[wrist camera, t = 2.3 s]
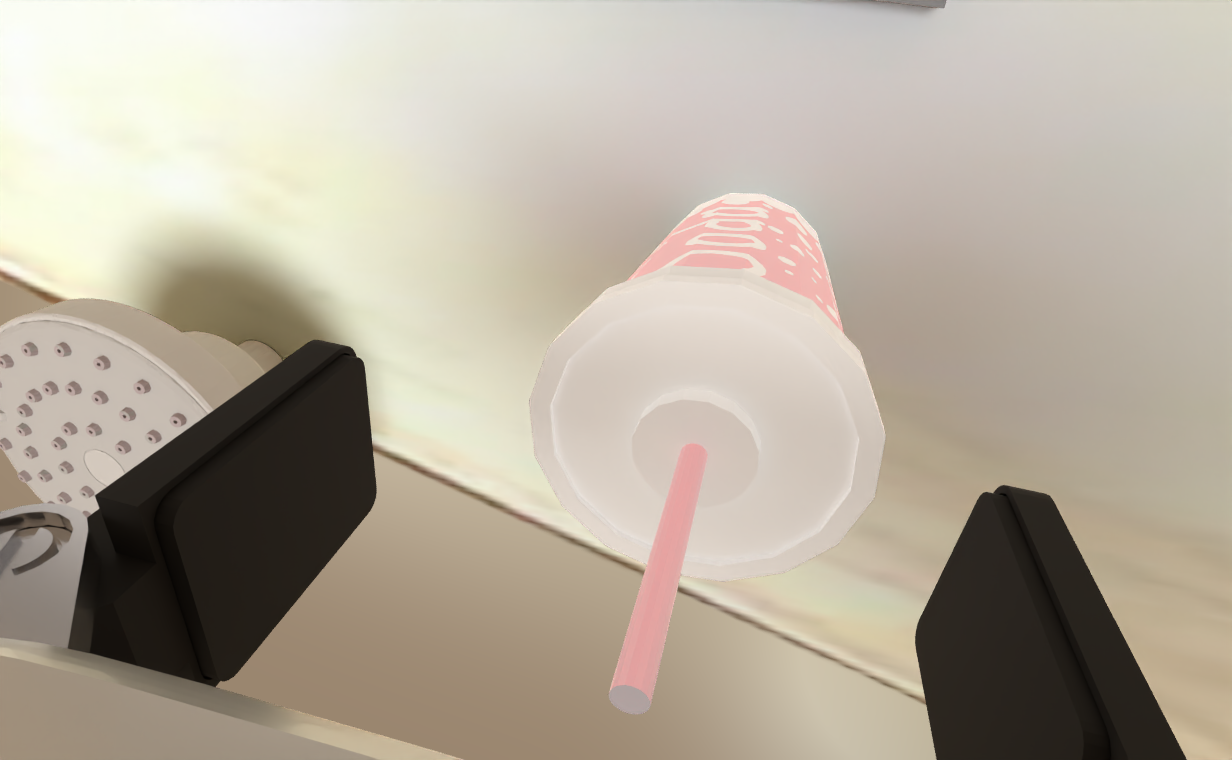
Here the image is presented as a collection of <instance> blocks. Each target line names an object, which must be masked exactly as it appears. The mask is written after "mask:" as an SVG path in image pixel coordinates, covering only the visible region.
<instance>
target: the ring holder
mask: <svg viewBox="0 0 1232 760" xmlns="http://www.w3.org/2000/svg"><path fill="white" fill-rule="evenodd" d="M874 1H882V2H891V3H899V4H907V5H916V6H924V7H932V8H944V7H945V4H946V0H874Z"/></svg>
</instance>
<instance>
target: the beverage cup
mask: <svg viewBox="0 0 1232 760" xmlns="http://www.w3.org/2000/svg"><path fill="white" fill-rule="evenodd" d="M529 405H530V414H531V424H532V433H533V443H534V452H535V457H536V459H537V461H538V463H539V465H540V466H541V468H542V470H543V472H544V474H545V476H546V477H547V479H548V481H549V483H550V485H551V487H552V488H553V490H554V492H555V494H556V496H557V498H558V499H559V501H560V503H561V505H562V506H563V507H564V508H565V509H566V510H567V511H568V512H569V513H570V514H571V515H573V516H574V517H575V518H576V519H577V520H578V521H579V522H580V523H581V524H582V525H584V526H585V527H586V528H587V529H588V530H589V531H590V532H591V533H592V534H593V535H595V536H596V537H597V538H598V539H599V540H600V541H601V542H602V543H603V544H604V545H606V546H607V547H609V548H611V549H614V550H616V551H618V552H620V553H622V554H624V555H626V556H628V557H631V558H633V559H635V560H637V561H639V562H641V563H643V564H645V565H647V566H646V569H645V573H644V576H643V579H642V583H641V586H640V589H639V593H638V596H637V600H636V603H635V607H634V610H633V614H632V616H631V620H630V623H629V627H628V630H627V633H626V637H625V640H624V643H623V647H622V650H621V654H620V657H619V660H618V664H617V667H616V670H615V674H614V677H613V681H612V684H611V688H610V691H609V699H610V701H611V702H612V704H613V705H614V706H615V707H617V708H618V709H619V710H621V711H623V712H625V713H630V714H642V713H644V712H646V711H647V710H648V709H649V708H650V705H651V701H652V696H653V692H654V687H655V683H656V679H657V674H658V670H659V666H660V661H661V657H662V653H663V649H664V644H665V640H666V635H667V631H668V627H669V623H670V618H671V614H672V610H673V605H674V601H675V596H676V593H677V588H678V584H679V580H680V575H683V576H689V577H696V578H702V579H709V580H715V581H721V582H725V581H732V580H739V579H746V578H752V577H759V576H766V575H773V574H780V573H785V572H787V571H789V570H791V569H793V568H794V567H796V566H798V565H800V564H802V563H804V562H806V561H808V560H809V559H811V558H813V557H815V556H817V555H819V554H821V553H823V552H825V551H826V550H828V549H830V548H832V547H834V546H836V545H838V544H839V542H840V541H841V540H842V538H843V537H844V536H845V535H846V533H847V532H848V531H849V530H850V528H851V527H852V526H853V524H854V523H855V522H856V521H857V519H858V518H859V517H860V516H861V514H862V513H863V512H864V510H865V509H866V508H867V507H868V505H869V504H870V503H871V502H872V500H873V499H874V498H875V493H876V487H877V482H878V477H879V471H880V466H881V460H882V455H883V450H884V444H885V439H886V436H885V430H884V426H883V423H882V420H881V417H880V412H879V409H878V406H877V402H876V399H875V396H874V393H873V390H872V387H871V383H870V380H869V377H868V374H867V371H866V368H865V365H864V361H863V358H862V355H861V352H860V351H859V350H858V349H857V347H856V346H855V345H854V344H853V343H852V342H851V341H850V340H849V339H848V338H847V337H846V336H845V335H844V331H843V327H842V323H841V319H840V315H839V311H838V307H837V303H836V300H835V296H834V292H833V288H832V284H831V280H830V276H829V272H828V268H827V264H826V261H825V258H824V254H823V251H822V248H821V245H820V242H819V239H818V236H817V233H816V231H815V230H814V229H813V228H812V227H811V226H810V225H809V224H808V222H807V221H806V220H805V219H804V218H803V217H802V216H801V215H800V214H799V213H798V211H797V210H796V209H795V208H794V207H791V206H789V205H787V204H785V203H782V202H780V201H778V200H776V199H774V198H771V197H769V196H767V195H765V194H746V193H728V194H726V195H723V196H721V197H718V198H715V199H713V200H710V201H707V202H705V203H702V204H700V205H698V206H697V207H696V208H695V209H694V210H693V211H692V212H691V213H690V214H688V215H687V216H686V217H685V218H684V219H683V220H682V221H681V222H680V223H679V224H678V225H677V226H676V227H675V228H674V229H673V230H672V231H671V232H670V233H669V234H668V236H667V237H666V238H665V239H664V240H663V241H662V242H661V243H660V244H659V245H658V247H657V248H656V249H655V250H654V251H653V252H652V253H651V254H650V255H649V256H648V258H647V259H646V260H645V261H644V262H643V263H642V264H641V265H640V266H639V267H638V269H637V270H636V271H635V272H634V273H633V274H632V275H631V276H630V277H629V278H628V280H627V281H626V282H623V283H620V284H617V285H614V286H611V287H608V288H607V289H606V290H605V291H604V292H603V293H602V294H601V295H600V296H599V297H598V298H596V299H595V300H594V301H593V302H592V303H591V304H590V305H589V306H588V307H587V308H586V309H585V310H584V311H583V312H582V313H581V314H580V315H579V316H578V317H576V318H575V319H574V320H573V321H572V322H571V323H570V324H569V325H568V326H567V327H566V328H565V329H564V331H563V332H562V333H561V334H560V335H559V336H558V337H556V338H555V339H554V340H553V342H552V343H551V344H550V346H549V347H548V350H547V352H546V355H545V358H544V361H543V364H542V366H541V369H540V372H539V375H538V377H537V380H536V383H535V386H534V388H533V391H532V394H531V397H530V400H529Z"/></svg>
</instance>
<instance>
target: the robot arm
mask: <svg viewBox="0 0 1232 760" xmlns="http://www.w3.org/2000/svg"><path fill="white" fill-rule="evenodd" d="M95 498H96V501H97V503H98V506H99V509H98V510H97V511H95V512H94V513H93V514H91V515H90V516H89V517H87V518H86V517H85V516H84V515H83V514H82V512H81V511H80V510H78V509H76V508H73V507H70V506H67V505H64V504H51V503H43V504H34V505H25V506H21V507H17V508H13V509H9V510H5V511H1V512H0V760H464V759H460V758H457V757H453V756H450V755H446V754H443V753H440V752H436V751H433V750H429V749H426V748H423V747H419V746H416V745H413V744H409V743H406V742H403V741H399V740H395V739H392V738H388V737H386V736H382V735H379V734H375V733H372V732H368V731H365V730H361V729H358V728H354V727H351V726H348V725H344V724H341V723H337V722H334V721H330V720H327V719H323V718H320V717H316V716H313V715H310V714H306V713H303V712H299V711H296V710H292V709H289V708H285V707H282V706H278V705H275V704H271V703H268V702H265V701H261V700H258V699H254V698H251V697H247V696H243V695H241V694H237V693H234V692H230V691H227V690H223V689H220V688H216V686H217V684H218V683H219V682H220V681H227V680H229V679H231V678H232V677H234V676H235V675H236V674H237V673H238V671H239V670H240V669H241V668H242V667H243V665H244V664H245V663H246V662H247V661H248V659H249V658H250V657H251V656H252V654H253V653H254V652H255V651H256V650H257V648H258V647H259V646H260V645H261V644H262V642H263V641H264V640H265V638H266V637H267V636H268V635H269V634H270V633H271V631H272V630H273V629H274V627H276V625H277V624H278V623H279V622H280V620H281V619H282V618H283V617H284V616H285V614H286V613H287V612H288V611H289V609H290V608H291V607H292V606H293V605H294V603H295V602H296V601H297V600H298V598H299V597H300V596H301V595H302V594H303V592H304V591H305V590H306V588H307V587H308V586H309V585H310V584H311V583H312V581H313V580H314V579H315V578H316V577H317V575H318V574H319V573H320V572H321V570H322V569H323V568H324V567H325V566H326V564H327V563H328V562H329V561H330V560H331V558H332V557H333V556H334V554H335V553H336V552H337V551H338V550H339V548H340V547H341V546H342V545H343V544H344V542H345V541H346V540H347V539H348V538H349V536H350V535H351V534H352V533H353V531H354V530H355V529H356V528H357V526H358V525H359V524H360V523H361V522H362V520H363V519H364V518H365V517H366V516H367V514H368V513H369V512H370V510H371V508H372V506H373V504H374V501H375V498H376V478H375V468H374V457H373V447H372V437H371V426H370V416H369V405H368V395H367V385H366V374H365V366H364V363H363V361H362V360H361V359H360V358H357V357H356V354H355V352H354V350H353V349H352V348H351V347H349V346H344V345H340V344H335V343H330V342H325V341H321V340H312V341H310V342H308V343H307V344H306V345H304V346H303V347H301V348H300V349H299V350H297V351H296V352H294V353H293V354H292V355H290V356H289V357H287V358H286V359H285V360H283V361H282V362H280V363H279V364H278V365H276V366H275V367H273V368H272V369H271V370H269V371H268V372H266V373H265V374H264V375H262V376H261V377H259V378H258V379H257V380H255V381H254V382H252V383H251V384H250V385H248V386H247V387H245V388H244V389H243V390H241V391H240V392H238V393H237V394H236V395H234V396H233V397H232V398H230V399H229V400H227V401H226V402H225V403H223V404H222V405H220V406H219V407H218V408H216V409H215V410H213V411H212V412H211V413H209V414H208V415H206V416H205V417H204V418H202V419H201V420H199V421H198V422H197V423H195V424H194V425H192V426H191V427H190V428H188V429H187V430H185V431H184V432H183V433H181V434H180V435H178V436H177V437H176V438H174V439H173V440H171V441H170V442H169V443H167V444H166V445H164V446H163V447H162V448H160V449H159V450H157V451H156V452H155V453H153V454H152V455H150V456H149V457H148V458H146V459H145V460H144V461H142V462H141V463H139V464H138V465H137V466H135V467H134V468H132V469H131V470H130V471H128V472H127V473H125V474H124V475H123V476H121V477H120V478H118V479H117V480H116V481H114V482H113V483H111V484H110V485H109V486H107V487H106V488H104V489H103V490H102V491H100V492H99V493H97V494H96V495H95ZM915 645H916V652H917V657H918V662H919V668H920V673H921V678H922V684H923V689H924V694H925V700H926V705H927V711H928V716H929V721H930V727H931V731H932V737H933V743H934V748H935V753H936V759H937V760H1187V759H1186V757H1185V755H1184V753H1183V751H1182V750H1181V748H1180V746H1179V744H1178V742H1177V740H1176V738H1175V736H1174V734H1173V732H1172V730H1171V728H1170V726H1169V724H1168V722H1167V720H1166V718H1165V716H1164V715H1163V713H1162V711H1161V709H1160V707H1159V705H1158V703H1157V701H1156V699H1155V697H1154V695H1153V693H1152V691H1151V689H1150V687H1149V685H1148V683H1147V681H1146V679H1145V678H1144V676H1143V674H1142V672H1141V670H1140V668H1139V666H1138V664H1137V662H1136V660H1135V658H1134V656H1133V654H1132V652H1131V650H1130V648H1129V646H1128V644H1127V643H1126V641H1125V639H1124V637H1123V635H1122V633H1121V631H1120V629H1119V627H1118V625H1117V623H1116V621H1115V619H1114V618H1113V616H1112V614H1111V612H1110V610H1109V608H1108V606H1107V604H1106V602H1105V600H1104V598H1103V596H1102V594H1101V592H1100V590H1099V588H1098V587H1097V585H1096V583H1095V581H1094V579H1093V577H1092V575H1091V573H1090V571H1089V569H1088V567H1087V565H1086V563H1085V561H1084V559H1083V557H1082V555H1081V553H1080V551H1079V550H1078V548H1077V546H1076V544H1075V542H1074V540H1073V538H1072V536H1071V534H1070V532H1069V530H1068V528H1067V526H1066V524H1065V522H1064V520H1063V518H1062V516H1061V514H1060V513H1059V511H1058V509H1057V507H1056V505H1055V503H1054V501H1053V499H1052V498H1051V497H1050V496H1049V495H1047V494H1044V493H1039V492H1035V491H1030V490H1025V489H1020V488H1016V487H1011V486H1006V485H1003V486H1000V487H998V488H997V489H996V490H995V492H994V493H989V492H984V493H983V494H982V495H980V497H979V499H978V500H977V502H976V504H975V506H974V508H973V510H972V513H971V515H970V517H969V519H968V521H967V523H966V525H965V527H964V529H963V531H962V533H961V535H960V537H959V539H958V541H957V543H956V545H955V547H954V549H953V552H952V554H951V556H950V558H949V560H948V562H947V564H946V566H945V568H944V570H943V572H942V574H941V576H940V578H939V580H938V582H937V584H936V586H935V589H934V591H933V593H932V595H931V597H930V599H929V601H928V603H927V605H926V607H925V609H924V611H923V613H922V615H921V617H920V619H919V622H918V625H917V629H916V636H915Z"/></svg>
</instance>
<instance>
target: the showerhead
mask: <svg viewBox="0 0 1232 760" xmlns="http://www.w3.org/2000/svg"><path fill="white" fill-rule="evenodd" d="M280 362H282V359H281V358H280V356H279V355H278V354H277V353H276V352H275V351H274V350H273V349H272V348H270V347H269V346H267V345H266V344H264V343H261V342H258V341H252V340H251V341H245V342H243V343H241V344H240V345H238V346H237V345H235V344H234V343H232V342H230V341H228V340H226V339H224V338H222V337H219V336H216V335H213V334H210V333H205V332H198V331H191V332H180V331H179V330H177V329H176V328H174V327H173V326H171V325H169V324H167V323H166V322H164V321H162V320H160V319H158V318H156V317H154V316H153V315H151V314H148V313H146V312H143V311H141V310H138V309H135V308H133V307H130V306H127V305H124V304H120V303H116V302H112V301H108V300H100V299H72V300H67V301H63V302H59V303H56V304H53V305H51V306H48V307H45V308H42V309H39V310H37V311H34V312H31V313H28V314H25V315H22V316H19V317H17V318H15V319H12V320H10V321H8V322H6V323H5V324H3V325H2V326H0V448H1V449H2V450H3V451H4V452H5V454H6V456H7V457H8V458H9V460H10V462H11V463H12V465H13V466H14V468H15V469H16V471H17V472H18V475H17V476H18V478H19V479H20V480H21V481H22V482H24V483H25V482H26V483H27V484H28V485H29V487H30V488H31V489H32V490H33V491H34V493H35V494H36V495H37V496H38V497H39V498H40V499H41V500H42V501H43V502H44V503H51V504H64V505H67V506H70V507H73V508H76V509H78V510H80V511H81V512H82V514H83V515H84V516H85V517H86V518H87V517H89V516H90V515H91V514H93V513H94V512H95V511H97V510H98V509H99V506H98V503H97V501H96V498H95V495H96V494H97V493H99V492H100V491H102V490H103V489H104V488H106V487H107V486H109V485H110V484H111V483H113V482H114V481H116V480H117V479H118V478H120V477H121V476H123V475H124V474H125V473H127V472H128V471H130V470H131V469H132V468H134V467H135V466H137V465H138V464H139V463H141V462H142V461H144V460H145V459H146V458H148V457H149V456H150V455H152V454H153V453H155V452H156V451H157V450H159V449H160V448H162V447H163V446H164V445H166V444H167V443H169V442H170V441H171V440H173V439H174V438H176V437H177V436H178V435H180V434H181V433H183V432H184V431H185V430H187V429H188V428H190V427H191V426H192V425H194V424H195V423H197V422H198V421H199V420H201V419H202V418H204V417H205V416H206V415H208V414H209V413H211V412H212V411H213V410H215V409H216V408H218V407H219V406H220V405H222V404H223V403H225V402H226V401H227V400H229V399H230V398H232V397H233V396H234V395H236V394H237V393H238V392H240V391H241V390H243V389H244V388H245V387H247V386H248V385H250V384H251V383H252V382H254V381H255V380H257V379H258V378H259V377H261V376H262V375H264V374H265V373H266V372H268V371H269V370H271V369H272V368H273V367H275V366H276V365H278V364H279V363H280Z"/></svg>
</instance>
